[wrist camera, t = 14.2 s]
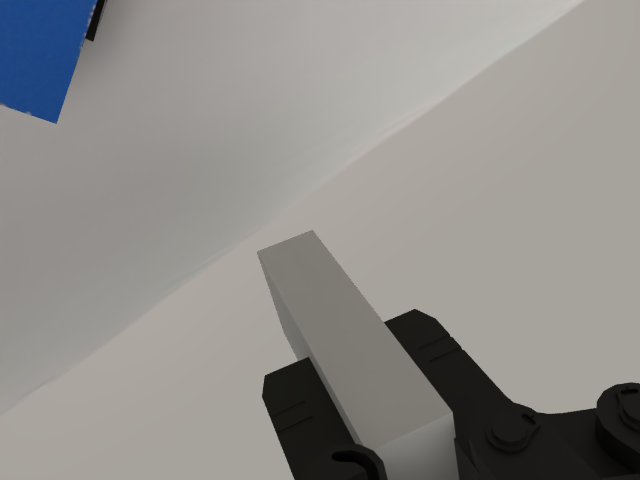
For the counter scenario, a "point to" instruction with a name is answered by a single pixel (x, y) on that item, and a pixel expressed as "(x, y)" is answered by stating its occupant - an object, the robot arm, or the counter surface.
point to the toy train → (42, 51)
